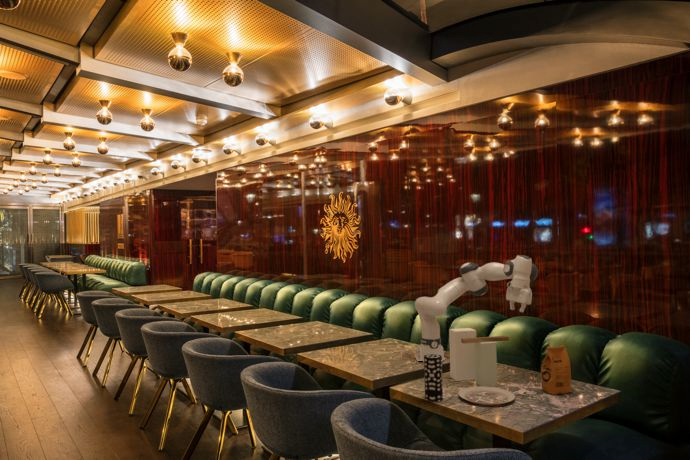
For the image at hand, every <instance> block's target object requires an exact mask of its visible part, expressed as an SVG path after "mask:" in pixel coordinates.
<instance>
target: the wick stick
mask: <svg viewBox="0 0 690 460" xmlns="http://www.w3.org/2000/svg"><path fill="white" fill-rule="evenodd" d="M507 341H510V336H509V335H498V336H497V335H495V336H484V337H483V336H482V337H479V336H478V337H476V338H462V339H461V343H479V342H507Z"/></svg>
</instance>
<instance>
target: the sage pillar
mask: <svg viewBox="0 0 690 460" xmlns="http://www.w3.org/2000/svg"><path fill="white" fill-rule="evenodd" d="M497 361H498V359H497V341H495V342H479V343H475V379H476V380H475V384H476V385H478V386H479V387H498V364H497V363H498V362H497Z"/></svg>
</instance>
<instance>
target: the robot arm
mask: <svg viewBox="0 0 690 460" xmlns="http://www.w3.org/2000/svg"><path fill="white" fill-rule="evenodd" d="M458 270H459V273H460V276H461V277H456V278H455V279H454V278H453V279H452V280H450V281H448V282H447V283H446V284H445V285H443V286H441V287H440V288H439V289H438V290H437V293H436V295H434V296H431V297H430V296H420V297H417V298H416V299H415V301H414V309H415V310H416V312H417V313H418V316H419V320H420V324H421V325H420V326H421V340H420V344H419V345H418V347H417V349H415V353H416V354H414V355H413V357H414V356H415V357H414V359H415V358H416V359H415V360H417V361H423V362H422V363H424V355H428V354H437V355H441V356H442V361H443V360H444V361H446V360H447V358H446V357H445V355H444V354H445V353H444V347H443V345H442V339H441V326H440V323H439V322H438V320H437V317H438V318H439V317H442V316H444V315H445V314H446V312H447V308H448V306H449V305H451V303H453V302H454V301H456V300H457V299H458V298H459V297H461V296H462V295H463V294H465V293H467V292H468V291H469V292H468V294H469V295H472V296H475V297H480V296H483V295H485V294H486V293H487V292H488V290H489V287H488V284H487V282H486V281H493V282H495V281H496V282H497V281H503V280H510V279H511V281H509V282H507V283H506V287H507V289H506V294H505V299H506V301H509V306H510V307H509V309H510V310H511V311H514V310H515V308H516V307H515V303H519V304H520V308H519V312H520V313H524V312H525V309H526V307H527V305H531V304H532V300H533V293H532V289H531V286H530V283H531V282H533V281H535V280H536V278H538V275H539V269H538V267H537V265H536V264H534V263H533V261H532V258H531V257H529V255H527V256H526V255H523V254H517V255H516V257H515V258H514V259H510V260H508V261H506V262H505V263H500V262H494V261H493V262H488V263H485V264H484V265H482V266H479V264H478V263H474V262H472V261H469V262H466V263H464V264H462V265H461V266H460V267H459V269H458ZM445 359H446V360H445ZM417 361H416V362H417ZM444 361H443V362H444Z"/></svg>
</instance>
